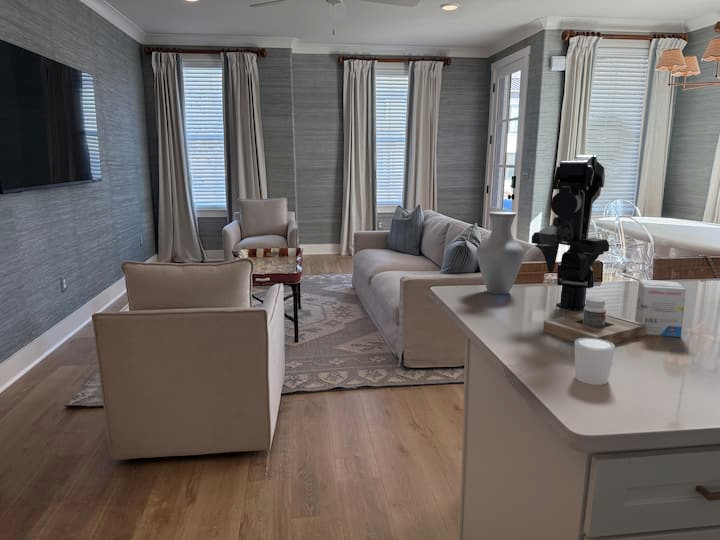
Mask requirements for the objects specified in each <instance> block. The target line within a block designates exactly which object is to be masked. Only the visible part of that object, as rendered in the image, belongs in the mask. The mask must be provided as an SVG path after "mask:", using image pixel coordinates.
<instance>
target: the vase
mask: <svg viewBox="0 0 720 540" xmlns="http://www.w3.org/2000/svg"><path fill="white" fill-rule="evenodd" d="M488 215H489V218H490V223H491V233H490V235H489V237H488V238H487V239H486V240H484V241H483V242H482V243H480V244H479V245H478V247H477V248H476V259H477V262H478V267H479V270H480V274H481V277H482V280H483V283H484V285H485V288H486V290H487V293H489V294H493V295H499V296H500V295H507V294H510V291H511V289H512V288H513V286H514V284H515V282H516V279H517V277H518V276H519V272H520V269H521V266H522V265H523V261H524V259H525V253H526V252H525V248H524V247H523V246H522V245H521V244H520V243H519V242H517V240H515V238H514V237H513V235H512V224H513V222H514V219H515V217H516V215H517V212H512V211H489V212H488Z"/></svg>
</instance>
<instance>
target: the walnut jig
mask: <svg viewBox="0 0 720 540" xmlns="http://www.w3.org/2000/svg"><path fill="white" fill-rule="evenodd" d="M583 314H584V312H582V313H581V312H580V313H576V314H572V315H567V316H563V317H558V318H553V319H552V318H551V319H544V320H543V328H542V331H543V332H545V333H547V334H549V335H553V336H556V337H558V338H561V339H564V340H567V341H570V342H573V343H575V340H576V339H579V338H597V339H602V340H606V341H609V342H611V343H613V344H614V345H615V344H618V343H623V342H626V341H630V340H633V339H638V338H642V337H645V336H646V334H645V332H646V324H642V323H639V322H635V320H630V319H627V318H623V317H620V316H618V315H617V316H616V315H613V314H609V313H606V316H605V327H604V328H600V329H595V328H592V327H589V326H586V325H583Z"/></svg>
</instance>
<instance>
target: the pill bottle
mask: <svg viewBox="0 0 720 540" xmlns="http://www.w3.org/2000/svg"><path fill="white" fill-rule="evenodd" d="M605 301H606V299H604V298H601V297H595V296H591V297H589V296H588V297H586V299H585V305H586V306H585V307H584V309H583V313H584V314H583V325H586V326H589V327H592V328H595V329H600V328H604V327H605V316H606V314H607V309H606V308H605V305H606V302H605Z"/></svg>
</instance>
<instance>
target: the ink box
mask: <svg viewBox="0 0 720 540" xmlns="http://www.w3.org/2000/svg"><path fill="white" fill-rule="evenodd" d="M686 292H687V291H686V288H684V286H683V285H681V284H680V283H679V282H677V281H668V280H667V281H666V280H656V279H655V280H653V279H651V280H650V279H642V278H641V279H639V280H638V290H637V298H636V307H635V315H634V321H635V322H639V323H642V324H646V332H645V336H646V335H648V336H659V337H672V338H673V337H674V338H675V337H676V338H682V330H683V329H682V328H683V321H684V312H685V303H686Z"/></svg>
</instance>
